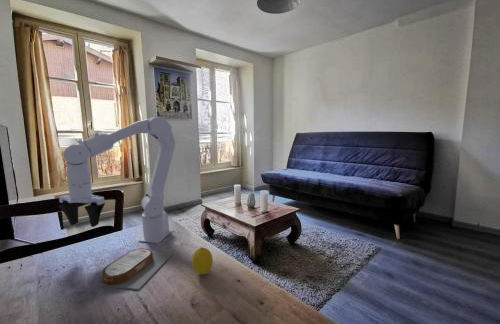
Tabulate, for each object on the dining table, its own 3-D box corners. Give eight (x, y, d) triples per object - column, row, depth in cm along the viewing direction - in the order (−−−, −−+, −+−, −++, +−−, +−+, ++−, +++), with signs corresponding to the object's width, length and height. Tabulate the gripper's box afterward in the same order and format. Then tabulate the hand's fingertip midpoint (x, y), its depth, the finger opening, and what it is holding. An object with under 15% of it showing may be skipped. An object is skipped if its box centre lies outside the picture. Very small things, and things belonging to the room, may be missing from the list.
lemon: (188, 274, 67) (187, 248, 65) (205, 266, 71) (204, 240, 69) (200, 283, 63) (199, 255, 62) (217, 274, 67) (216, 247, 66)
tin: (94, 282, 63) (120, 290, 61) (94, 271, 62) (120, 279, 60) (136, 253, 77) (159, 259, 75) (136, 244, 77) (159, 249, 74)
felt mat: (141, 251, 79) (141, 250, 79) (172, 254, 77) (172, 253, 77) (100, 285, 62) (100, 284, 62) (138, 290, 60) (138, 289, 60)
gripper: (47, 185, 72) (53, 228, 74) (89, 187, 69) (94, 231, 71) (68, 180, 79) (73, 219, 81) (107, 181, 76) (111, 222, 78)
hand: (84, 224), depth 76 cm, fingers open, 7 cm apart
